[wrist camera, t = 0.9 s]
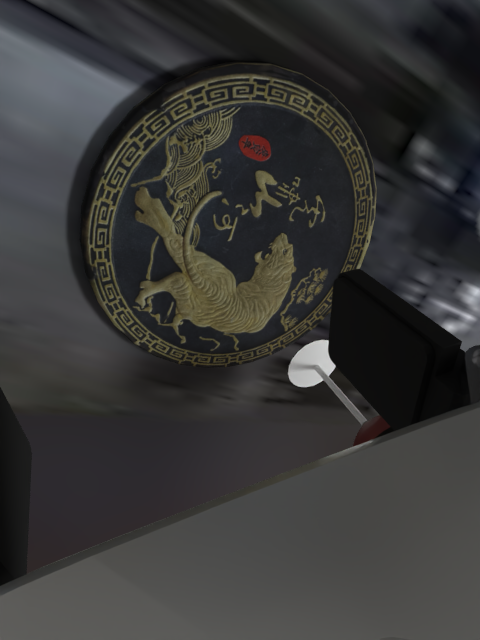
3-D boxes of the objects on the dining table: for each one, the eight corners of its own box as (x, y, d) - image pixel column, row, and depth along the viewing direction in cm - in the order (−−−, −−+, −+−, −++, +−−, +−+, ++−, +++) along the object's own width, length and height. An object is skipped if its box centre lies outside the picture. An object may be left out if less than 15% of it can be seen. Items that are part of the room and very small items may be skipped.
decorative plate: (176, -38, 27) (430, 170, 43) (169, -34, 29) (418, 166, 45) (30, 332, 37) (284, 390, 53) (31, 321, 38) (277, 381, 54)
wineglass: (274, 385, 54) (368, 522, 38) (308, 329, 51) (426, 452, 35) (318, 394, 58) (419, 521, 42) (352, 343, 55) (474, 458, 39)
